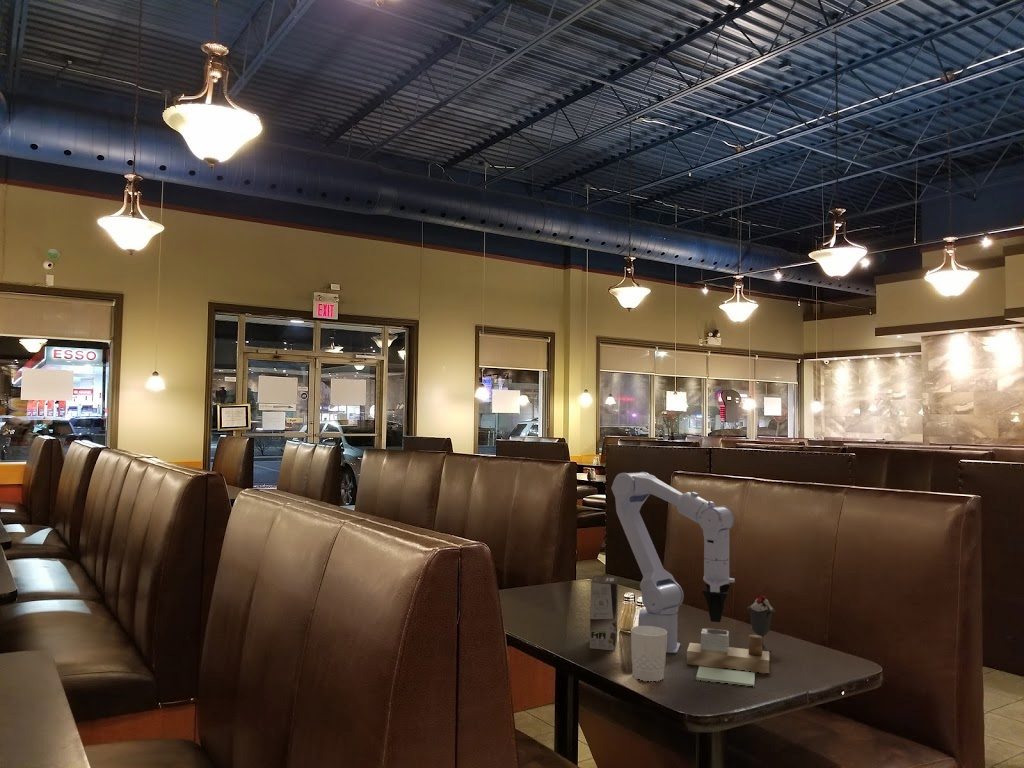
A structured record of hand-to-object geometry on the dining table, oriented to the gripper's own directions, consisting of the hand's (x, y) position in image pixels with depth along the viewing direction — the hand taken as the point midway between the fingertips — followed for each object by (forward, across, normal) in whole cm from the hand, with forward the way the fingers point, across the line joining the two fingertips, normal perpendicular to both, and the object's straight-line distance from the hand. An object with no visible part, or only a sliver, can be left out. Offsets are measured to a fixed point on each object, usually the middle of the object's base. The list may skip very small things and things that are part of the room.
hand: (716, 617), depth 177 cm
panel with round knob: (+10, 0, -3) cm, 11 cm away
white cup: (+11, -16, +14) cm, 23 cm away
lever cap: (+7, 0, 0) cm, 7 cm away
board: (+10, -10, -2) cm, 15 cm away
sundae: (+11, +15, -10) cm, 21 cm away
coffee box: (+10, +4, +27) cm, 30 cm away
